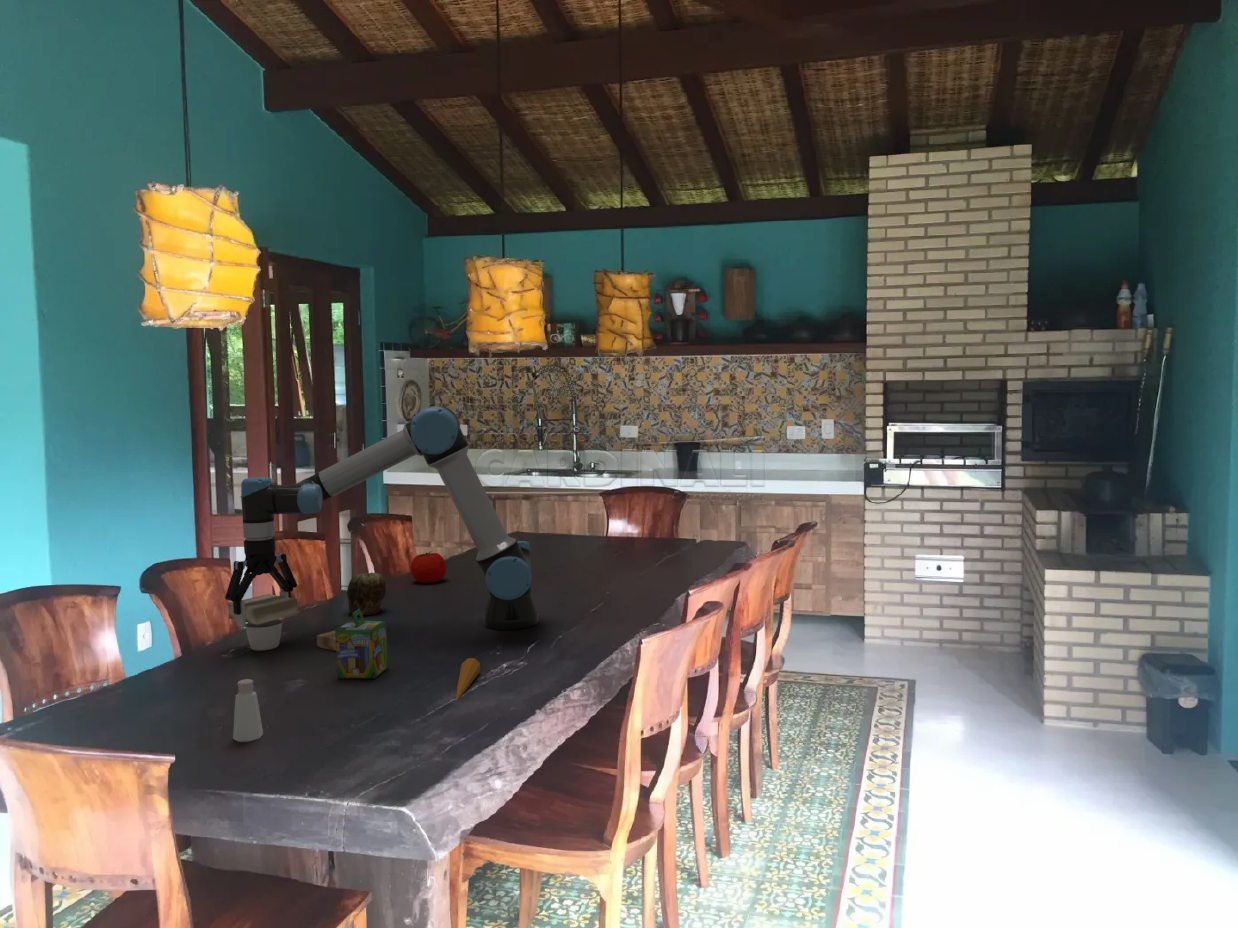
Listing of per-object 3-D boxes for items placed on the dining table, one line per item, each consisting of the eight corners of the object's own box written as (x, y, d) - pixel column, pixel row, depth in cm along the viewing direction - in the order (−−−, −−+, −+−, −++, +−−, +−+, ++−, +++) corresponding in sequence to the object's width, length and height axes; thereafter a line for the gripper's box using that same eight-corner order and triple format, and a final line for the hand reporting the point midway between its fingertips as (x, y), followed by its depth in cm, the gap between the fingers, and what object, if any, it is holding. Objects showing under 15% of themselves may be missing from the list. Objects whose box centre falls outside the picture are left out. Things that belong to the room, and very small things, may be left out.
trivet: (368, 643, 250) (367, 632, 250) (339, 651, 243) (339, 640, 243) (345, 638, 255) (345, 627, 255) (317, 646, 248) (316, 635, 248)
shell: (376, 617, 278) (375, 576, 277) (341, 616, 280) (339, 575, 279) (392, 609, 289) (391, 569, 288) (358, 608, 291) (357, 568, 290)
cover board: (297, 614, 250) (297, 599, 249) (256, 624, 240) (255, 608, 240) (270, 608, 257) (269, 594, 256) (228, 618, 247) (227, 602, 247)
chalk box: (374, 679, 219) (372, 615, 218) (336, 679, 221) (333, 615, 219) (389, 667, 229) (386, 606, 227) (352, 667, 230) (349, 605, 229)
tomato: (444, 577, 334) (443, 548, 333) (449, 584, 323) (448, 553, 322) (408, 580, 330) (407, 550, 329) (412, 587, 319) (411, 556, 318)
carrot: (467, 676, 224) (459, 659, 223) (485, 669, 223) (477, 652, 223) (450, 714, 204) (441, 695, 203) (470, 706, 204) (461, 688, 203)
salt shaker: (226, 740, 183) (223, 683, 183) (247, 730, 188) (244, 675, 188) (249, 743, 182) (246, 686, 181) (269, 733, 187) (266, 677, 186)
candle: (282, 649, 246) (281, 625, 245) (244, 653, 243) (243, 628, 243) (284, 641, 254) (282, 617, 254) (247, 644, 252) (246, 620, 251)
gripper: (291, 530, 258) (295, 609, 260) (206, 543, 239) (211, 629, 241) (308, 532, 254) (312, 613, 256) (224, 546, 234) (229, 633, 236)
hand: (263, 621), depth 248 cm, fingers closed on cover board, 12 cm apart
